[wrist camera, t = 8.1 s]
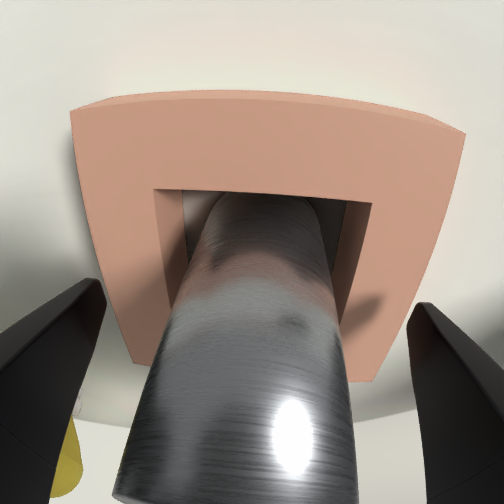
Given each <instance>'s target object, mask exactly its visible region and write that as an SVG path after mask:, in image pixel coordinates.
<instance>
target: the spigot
mask: <svg viewBox="0 0 504 504" xmlns="http://www.w3.org/2000/svg"><path fill="white" fill-rule="evenodd" d="M112 496H113V497H114V498H115V499H117V500H118V501H120V502H122V503H124V504H359V493H358V478H357V465H356V451H355V440H354V431H353V421H352V412H351V403H350V395H349V387H348V380H347V373H346V366H345V359H344V352H343V346H342V339H341V333H340V327H339V321H338V315H337V309H336V304H335V298H334V293H333V288H332V282H331V277H330V272H329V267H328V262H327V257H326V253H325V248H324V243H323V238H322V234H321V229H320V225H319V220H318V218H317V215H316V213H315V211H314V209H313V207H312V206H311V205H310V203H309V202H308V201H307V200H306V199H305V198H304V197H303V196H295V195H282V194H267V193H251V192H233V191H228V192H227V193H225V194H224V195H223V196H222V197H221V198H220V199H219V200H218V201H217V202H216V203H215V205H214V206H213V208H212V210H211V212H210V214H209V216H208V219H207V221H206V223H205V226H204V228H203V231H202V233H201V235H200V238H199V240H198V243H197V245H196V248H195V250H194V253H193V255H192V258H191V260H190V263H189V265H188V268H187V270H186V273H185V275H184V278H183V281H182V283H181V286H180V288H179V291H178V294H177V296H176V299H175V301H174V304H173V307H172V309H171V312H170V315H169V318H168V320H167V323H166V326H165V328H164V331H163V334H162V337H161V340H160V342H159V345H158V348H157V351H156V354H155V357H154V359H153V362H152V365H151V368H150V371H149V374H148V377H147V380H146V383H145V386H144V389H143V392H142V395H141V398H140V401H139V404H138V407H137V410H136V414H135V417H134V420H133V423H132V426H131V430H130V433H129V436H128V439H127V443H126V446H125V449H124V453H123V456H122V460H121V463H120V467H119V470H118V474H117V478H116V481H115V485H114V489H113V492H112Z"/></svg>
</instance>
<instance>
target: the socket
mask: <svg viewBox="0 0 504 504" xmlns="http://www.w3.org/2000/svg"><path fill="white" fill-rule="evenodd" d="M70 119H71V127H72V136H73V143H74V150H75V157H76V163H77V169H78V175H79V180H80V186H81V191H82V196H83V201H84V206H85V210H86V215H87V219H88V223H89V228H90V232H91V236H92V240H93V244H94V247H95V251H96V255H97V258H98V262H99V266H100V269H101V272H102V276H103V279H104V282H105V286H106V289H107V292H108V295H109V298H110V301H111V304H112V307H113V310H114V313H115V316H116V319H117V322H118V324H119V327H120V330H121V333H122V335H123V338H124V341H125V343H126V346H127V348H128V351H129V353H130V356H131V358H132V361H133V363H135V364H141V365H146V366H151V365H152V362H153V359H154V357H155V354H156V351H157V348H158V345H159V342H160V340H161V337H162V334H163V331H164V328H165V326H166V323H167V320H168V318H169V315H170V312H171V309H172V307H173V304H174V301H175V299H176V296H177V294H178V291H179V288H180V286H181V283H182V281H183V278H184V275H185V273H186V270H187V268H188V258H187V248H186V237H185V226H184V214H183V201H182V190H211V191H233V192H251V193H267V194H282V195H295V196H308V197H319V198H330V199H341V200H347V202H346V208H345V213H344V218H343V224H342V229H341V234H340V239H339V244H338V249H337V253H336V258H335V263H334V267H333V272H332V276H331V282H332V288H333V293H334V298H335V304H336V309H337V315H338V321H339V327H340V333H341V339H342V346H343V352H344V359H345V366H346V373H347V380H348V382H372V381H373V379H374V377H375V375H376V374H377V372H378V370H379V368H380V366H381V365H382V363H383V361H384V359H385V357H386V355H387V353H388V351H389V350H390V348H391V346H392V344H393V342H394V340H395V338H396V336H397V334H398V332H399V330H400V328H401V326H402V323H403V321H404V319H405V317H406V315H407V313H408V311H409V308H410V306H411V304H412V302H413V299H414V297H415V295H416V292H417V290H418V288H419V285H420V283H421V281H422V278H423V276H424V273H425V271H426V268H427V266H428V263H429V260H430V258H431V255H432V252H433V250H434V247H435V244H436V241H437V238H438V235H439V232H440V229H441V226H442V223H443V220H444V217H445V214H446V211H447V207H448V204H449V201H450V197H451V194H452V190H453V187H454V183H455V179H456V175H457V171H458V167H459V163H460V159H461V154H462V150H463V145H464V141H465V136H466V134H465V133H463V132H461V131H459V130H457V129H455V128H453V127H451V126H449V125H447V124H445V123H443V122H441V121H438V120H436V119H434V118H432V117H430V116H427V115H424V114H420V113H416V112H412V111H407V110H403V109H398V108H393V107H388V106H383V105H378V104H373V103H367V102H361V101H355V100H348V99H341V98H334V97H326V96H318V95H308V94H298V93H285V92H270V91H247V90H196V91H173V92H158V93H146V94H135V95H126V96H118V97H112V98H108V99H105V100H102V101H98V102H95V103H92V104H89V105H86V106H83V107H80V108H77V109H74V110H72V111H70Z"/></svg>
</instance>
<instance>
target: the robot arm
mask: <svg viewBox="0 0 504 504" xmlns="http://www.w3.org/2000/svg"><path fill="white" fill-rule="evenodd" d="M106 307H107V301H106V298H105V295H104V292H103V288H102V285H101V283H100V281H99V280H98V279H93V278H85V279H84V280H82V281H80V282H79V283H77V284H75V285H74V286H72V287H71V288H69V289H67V290H66V291H64V292H63V293H61V294H59V295H58V296H56V297H55V298H53V299H52V300H50V301H48V302H47V303H45V304H44V305H42V306H41V307H39V308H38V309H36V310H35V311H33V312H31V313H30V314H28V315H27V316H25V317H24V318H22V319H21V320H19V321H18V322H16V323H15V324H14V325H12V326H11V327H9V328H8V329H6V330H5V331H3V332H2V333H0V504H49V499H50V494H51V490H52V485H53V481H54V477H55V473H56V468H57V464H58V460H59V456H60V453H61V449H62V445H63V442H64V438H65V435H66V431H67V428H68V425H69V422H70V418H71V415H72V412H73V409H74V406H75V403H76V400H77V397H78V394H79V391H80V388H81V385H82V382H83V379H84V377H85V374H86V371H87V368H88V366H89V363H90V360H91V358H92V355H93V352H94V349H95V346H96V342H97V338H98V335H99V331H100V328H101V324H102V321H103V317H104V314H105V311H106ZM406 330H407V339H408V347H409V357H410V367H411V376H412V382H413V388H414V393H415V399H416V405H417V411H418V417H419V424H420V431H421V439H422V448H423V457H424V467H425V479H426V495H427V504H504V370H503V369H502V368H501V367H500V366H499V365H498V364H497V363H496V362H495V361H494V360H493V359H492V358H491V357H490V356H489V355H488V354H487V353H486V352H484V351H483V350H482V349H481V348H480V347H479V346H478V345H477V344H476V343H475V342H474V341H473V340H472V339H471V338H470V337H469V336H467V335H466V334H465V333H464V332H463V331H462V330H461V329H460V328H459V327H458V326H457V325H455V324H454V323H453V322H452V321H451V320H450V319H449V318H448V317H446V316H445V315H444V314H443V313H442V312H441V311H440V310H439V309H437V308H436V307H435V306H434V305H433V304H432V303H429V302H419V303H417V304H416V306H415V308H414V310H413V312H412V314H411V316H410V318H409V320H408V323H407V328H406Z"/></svg>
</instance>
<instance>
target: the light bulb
mask: <svg viewBox="0 0 504 504" xmlns="http://www.w3.org/2000/svg"><path fill="white" fill-rule="evenodd" d="M81 393H82V388H80V391H79V394H78V397H77V400H76V403H75V406H74V409H73V412H72V415H73V416H77V415H78V414H79V412H80V409H81V407H82V402H81V401H80V400H79V397H80V395H81ZM72 415H71V418H70V422H69V425H68V428H67V431H66V435H65V438H64V442H63V445H62V449H61V453H60V456H59V460H58V464H57V468H56V473H55V477H54V481H53V485H52V490H51V494H50V498H55V497H60V496H63V495H65V494H67V493H69V492H70V491H72V490H73V489H74V488H75V487H76V486H77V484H78V483H79V481H80V479H81V477H82V473H83V466H82V460H81V454H80V446H79V441H78V437H77V434H76V430H75V426H74V422H73V418H72Z"/></svg>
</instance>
